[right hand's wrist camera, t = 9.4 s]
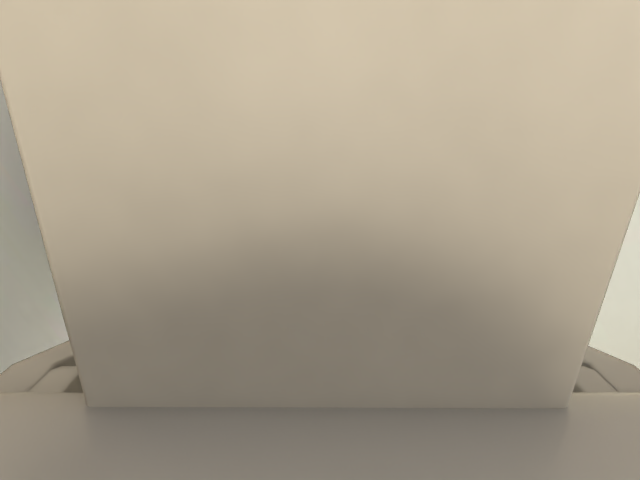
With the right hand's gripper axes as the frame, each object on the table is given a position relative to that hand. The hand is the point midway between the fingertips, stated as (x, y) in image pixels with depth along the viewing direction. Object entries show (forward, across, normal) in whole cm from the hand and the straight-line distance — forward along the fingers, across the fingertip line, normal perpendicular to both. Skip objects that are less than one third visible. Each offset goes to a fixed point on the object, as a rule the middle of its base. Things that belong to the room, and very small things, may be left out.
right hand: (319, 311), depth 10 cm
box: (+4, 0, -10) cm, 10 cm away
